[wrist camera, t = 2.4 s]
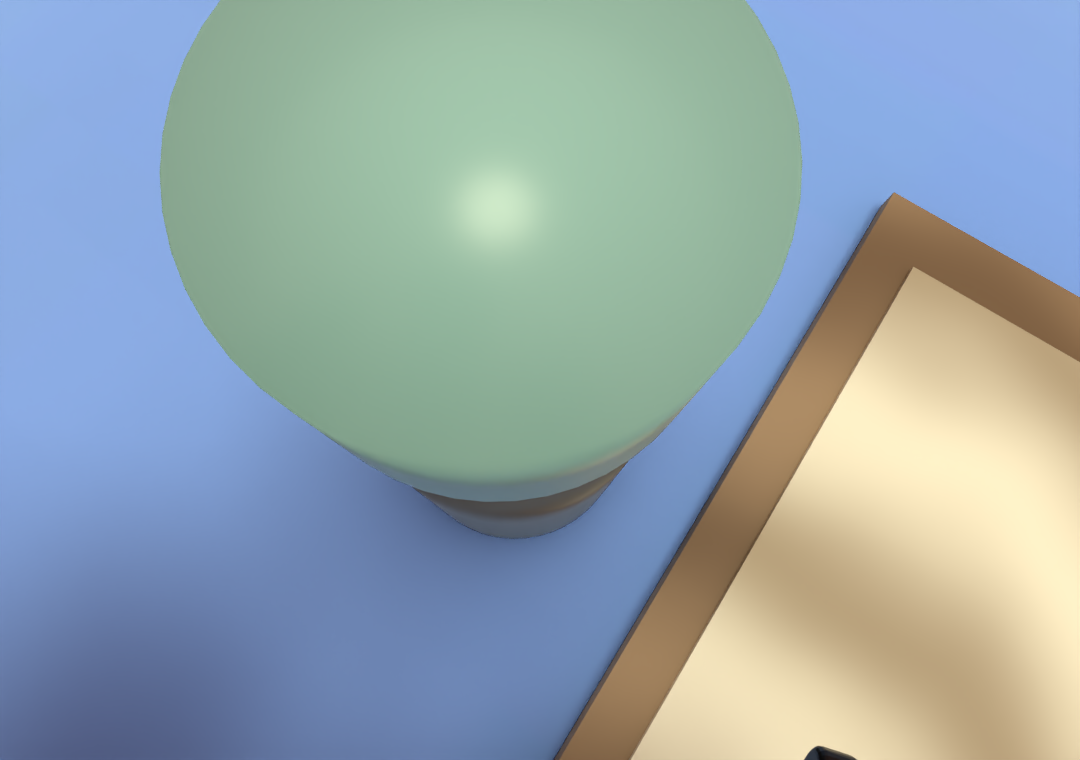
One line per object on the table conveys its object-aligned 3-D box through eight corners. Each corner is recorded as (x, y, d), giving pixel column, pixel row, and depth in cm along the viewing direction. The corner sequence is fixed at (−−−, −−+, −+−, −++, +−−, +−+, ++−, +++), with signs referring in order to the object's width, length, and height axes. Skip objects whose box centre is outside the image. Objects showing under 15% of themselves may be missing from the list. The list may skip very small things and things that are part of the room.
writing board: (1047, 1436, 17) (1081, 1492, 16) (420, 984, 18) (414, 1008, 17) (1428, 517, 20) (1475, 513, 19) (881, 205, 22) (897, 188, 21)
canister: (429, 565, 20) (207, 535, 6) (388, 352, 21) (122, -66, 7) (647, 516, 20) (884, 385, 7) (596, 308, 21) (708, -174, 8)
